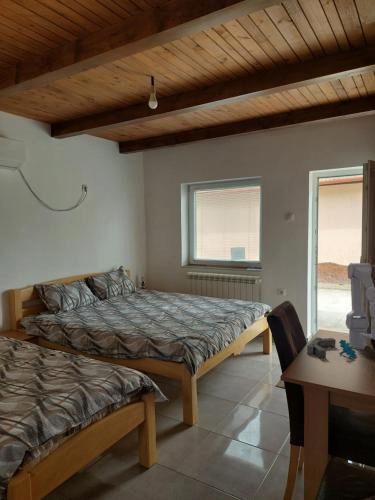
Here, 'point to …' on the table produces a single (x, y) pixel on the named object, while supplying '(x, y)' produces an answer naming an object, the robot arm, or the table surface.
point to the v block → (320, 346)
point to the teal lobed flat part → (347, 349)
